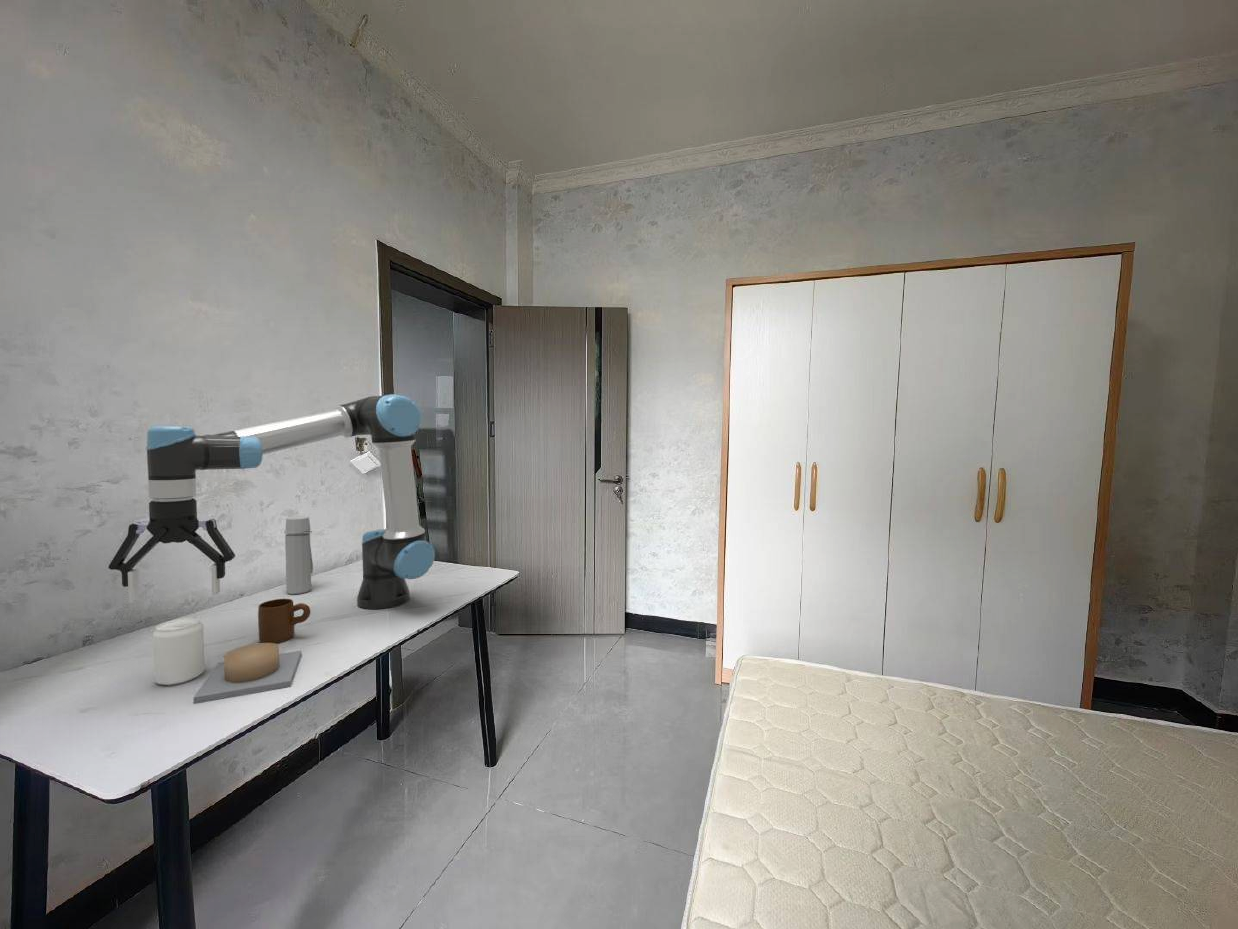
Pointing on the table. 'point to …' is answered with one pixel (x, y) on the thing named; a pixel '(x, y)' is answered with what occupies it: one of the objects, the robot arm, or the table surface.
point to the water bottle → (298, 555)
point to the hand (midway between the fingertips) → (176, 597)
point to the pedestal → (249, 672)
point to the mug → (279, 619)
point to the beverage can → (178, 651)
